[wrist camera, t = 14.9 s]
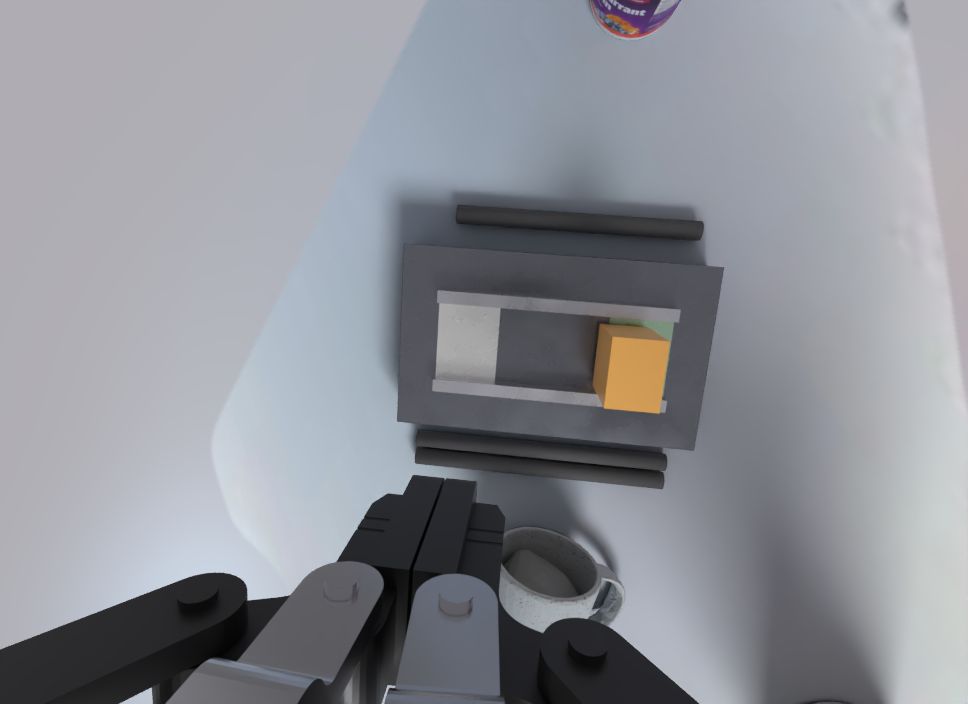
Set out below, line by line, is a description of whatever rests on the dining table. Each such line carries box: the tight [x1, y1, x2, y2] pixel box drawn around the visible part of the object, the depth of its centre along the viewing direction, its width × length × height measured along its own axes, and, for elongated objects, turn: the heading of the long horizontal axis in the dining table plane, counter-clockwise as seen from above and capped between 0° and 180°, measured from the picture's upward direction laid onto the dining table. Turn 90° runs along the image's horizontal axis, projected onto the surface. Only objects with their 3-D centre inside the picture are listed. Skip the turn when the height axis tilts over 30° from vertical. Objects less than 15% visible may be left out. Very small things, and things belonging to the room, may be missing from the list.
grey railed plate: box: [415, 205, 704, 489], centre depth 36 cm, size 18×19×1 cm
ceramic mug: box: [499, 527, 625, 633], centre depth 36 cm, size 11×8×8 cm
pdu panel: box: [397, 244, 724, 451], centre depth 34 cm, size 20×12×4 cm, turn 86°
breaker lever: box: [592, 324, 670, 414], centre depth 30 cm, size 3×4×5 cm
